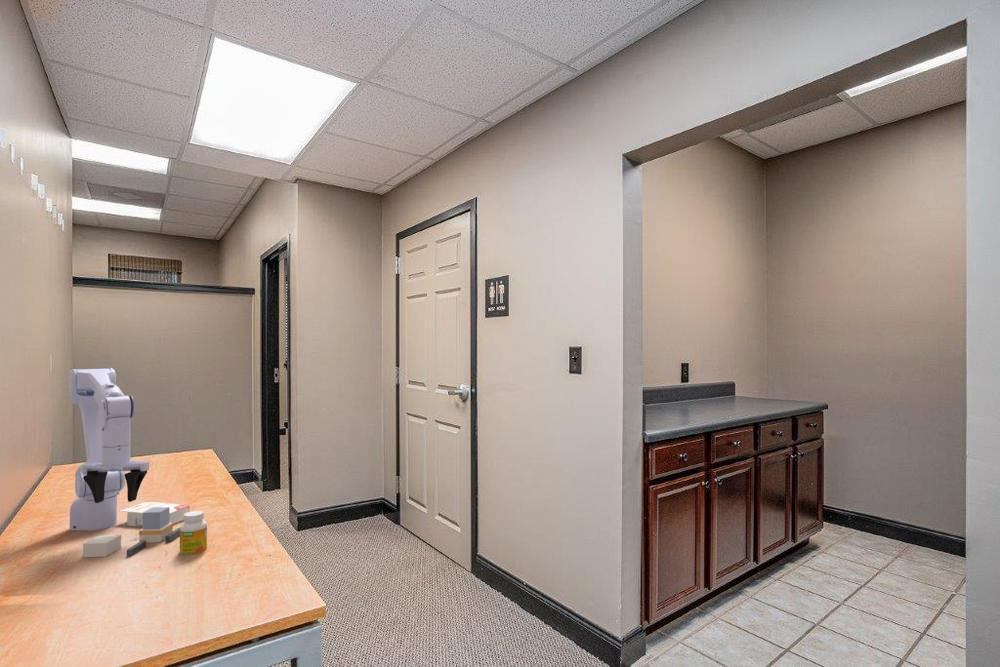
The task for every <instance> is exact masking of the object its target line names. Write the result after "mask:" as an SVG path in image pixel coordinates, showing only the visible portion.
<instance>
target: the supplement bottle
mask: <svg viewBox="0 0 1000 667" xmlns="http://www.w3.org/2000/svg"><path fill="white" fill-rule="evenodd" d="M204 515H205V514H204V511H203V510H191V511H189V512H188V513H185V514H184V520H183V523H182V524H181V525H180V526H179V528H180V536H179V554H180V555H183V556H184V555H187V556H188V555H189V556H190V555H196V554H200V553H202V552H205V551H206V550H207V548H208V547H207V546H208V543H207V540H208V539H207V538H208V534H207V533H208V523H207V521H206V520H204Z"/></svg>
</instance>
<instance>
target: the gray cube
mask: <svg viewBox="0 0 1000 667" xmlns="http://www.w3.org/2000/svg"><path fill="white" fill-rule="evenodd" d="M169 508H170V507H154V508H151V509H149V510H147V511H145V512H143V527H142V528H143V529H161V528H162V527H164V526H166V525H167V524H169Z"/></svg>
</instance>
